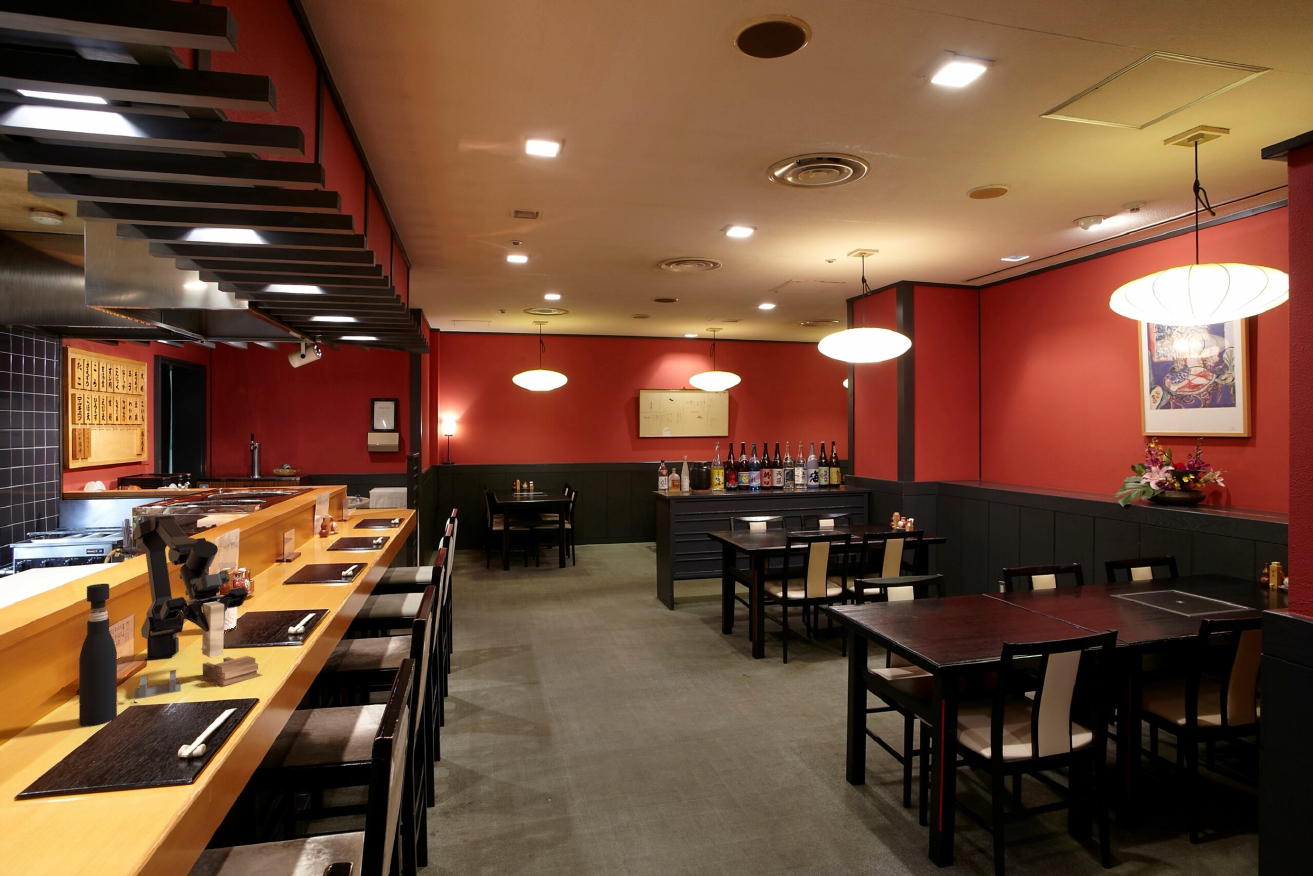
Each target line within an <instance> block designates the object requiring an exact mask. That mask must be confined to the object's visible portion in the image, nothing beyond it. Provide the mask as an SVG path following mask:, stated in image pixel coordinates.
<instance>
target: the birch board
mask: <svg viewBox="0 0 1313 876" xmlns="http://www.w3.org/2000/svg"><path fill="white" fill-rule="evenodd" d="M202 612H203V614H204V617H205V619H206V621H207V623H208V627H209V631H208V632H206V631H204V630H203V629H202V641H201V643H202V645H201V646H202V647H201V654H202V655H203V656H206V657H208V658H214V657H220V656H223V655H224V639H225V638H224V634H225V633H224V604H222V603H219V602H210V603H204V604H203V607H202Z"/></svg>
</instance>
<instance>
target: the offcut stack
mask: <svg viewBox="0 0 1313 876" xmlns="http://www.w3.org/2000/svg"><path fill="white" fill-rule="evenodd" d="M213 664H214V663H213ZM258 670H259V664H258V663H257V662H256V658H255V657H252V656H249V655H245V656H241V657H236V658H233V660H229V661H225V662H222V661H221V662H219V663H215V664H214V671H217V676H216V683H219V684H221V685H226V684H230V683H233V682H237V681H240V680H243V679H247V678H250V677H254V676H257V673H258Z"/></svg>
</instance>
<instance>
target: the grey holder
mask: <svg viewBox="0 0 1313 876" xmlns="http://www.w3.org/2000/svg"><path fill="white" fill-rule="evenodd" d="M139 680H140V681H139V685H138V686H139V687H136V688H135V692H134V698H133V704H134V703H135V704H138V702H137V701H135V700H139V699H145V698H151V697H152V698H153V697H157V696H161V695H168V694H173V693H179V692H181V690H182V689H181V688H182V687H181V686H182V685H181V683H182V681H181V680H177V670H176V669H173V670H169V682H164V683H158V684H157V683H156V684H152V685H148V674H144V675H140V679H139Z"/></svg>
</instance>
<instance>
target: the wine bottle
mask: <svg viewBox="0 0 1313 876" xmlns="http://www.w3.org/2000/svg"><path fill="white" fill-rule="evenodd" d="M107 600H108V601H109V600H110V583H97V584H96V583H95V584H90V585H87V586H86V602H88V603H90V611H89V613H88V620H87V622H86V623H87V624H86V625H87V626H86V636H85V638H84V641H83V644H82V646H81V649H80V652H79V653H80V654H79V659H78V661H79V662H78V664H79V666H78V668H79V669H78V672H79V673H78V674H79V675H78V677H79V678H78V684H79V685H78V687H79V688H78V689H79V690H78V691H79V692H78V693H79V694H78V695H79V696H78V698H79V699H78V700H79V701H78V703H79V705H78V708H79V709H78V710H79V711H78V713H79V714H78V715H79V720H78V723H79V725H80V726H81V727H93V726H99V725H103V724H106V723H109V722H111V721H114V720H115V719H117V717H118V681H117V680H118V652H117V648H116V644H115V643H116V642H115V640H114V638H113V636H112V634H111V632H110V619H109V618H108V617H109V615H108V614H109V612H108V610H107V606H106V601H107Z"/></svg>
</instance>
